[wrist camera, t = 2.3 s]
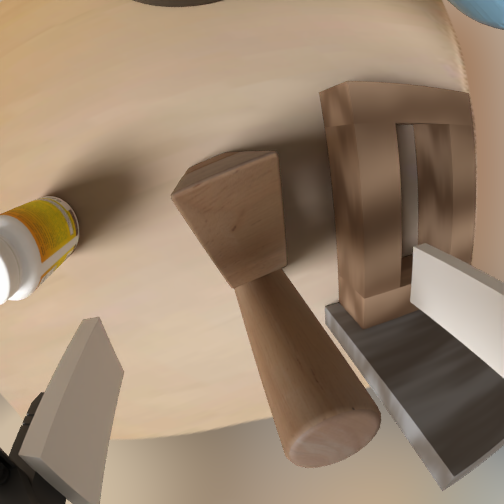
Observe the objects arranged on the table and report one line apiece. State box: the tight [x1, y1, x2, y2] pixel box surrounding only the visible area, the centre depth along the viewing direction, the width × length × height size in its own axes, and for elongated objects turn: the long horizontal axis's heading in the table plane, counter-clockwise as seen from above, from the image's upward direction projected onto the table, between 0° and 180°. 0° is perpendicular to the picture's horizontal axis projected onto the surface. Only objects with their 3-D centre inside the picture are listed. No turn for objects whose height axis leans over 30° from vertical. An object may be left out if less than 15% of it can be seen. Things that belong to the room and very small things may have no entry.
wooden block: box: [171, 151, 381, 468], centre depth 15 cm, size 4×11×18 cm, turn 21°
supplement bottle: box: [0, 196, 79, 305], centre depth 16 cm, size 6×6×10 cm
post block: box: [319, 81, 504, 491], centre depth 16 cm, size 21×16×20 cm
